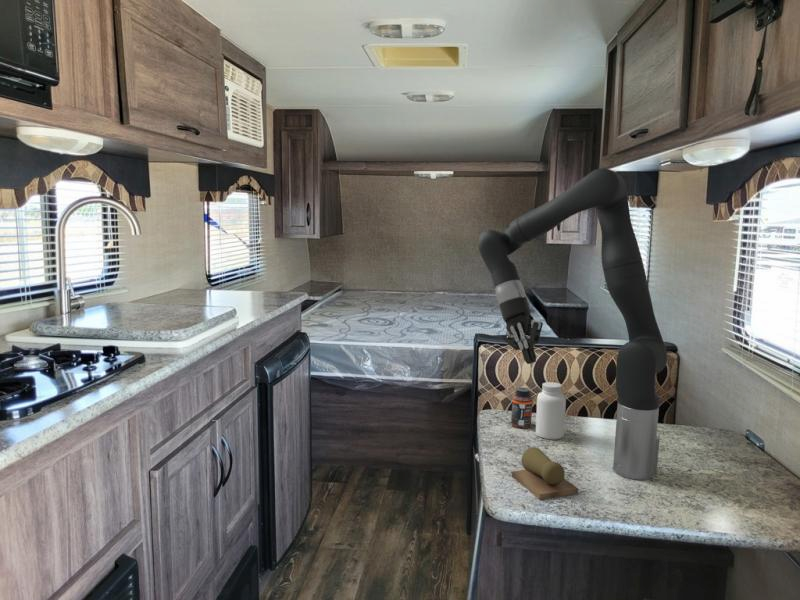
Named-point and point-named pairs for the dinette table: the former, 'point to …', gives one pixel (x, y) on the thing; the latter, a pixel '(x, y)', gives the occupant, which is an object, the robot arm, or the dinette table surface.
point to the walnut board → (543, 485)
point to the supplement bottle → (521, 408)
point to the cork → (542, 466)
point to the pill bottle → (550, 411)
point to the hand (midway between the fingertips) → (531, 362)
